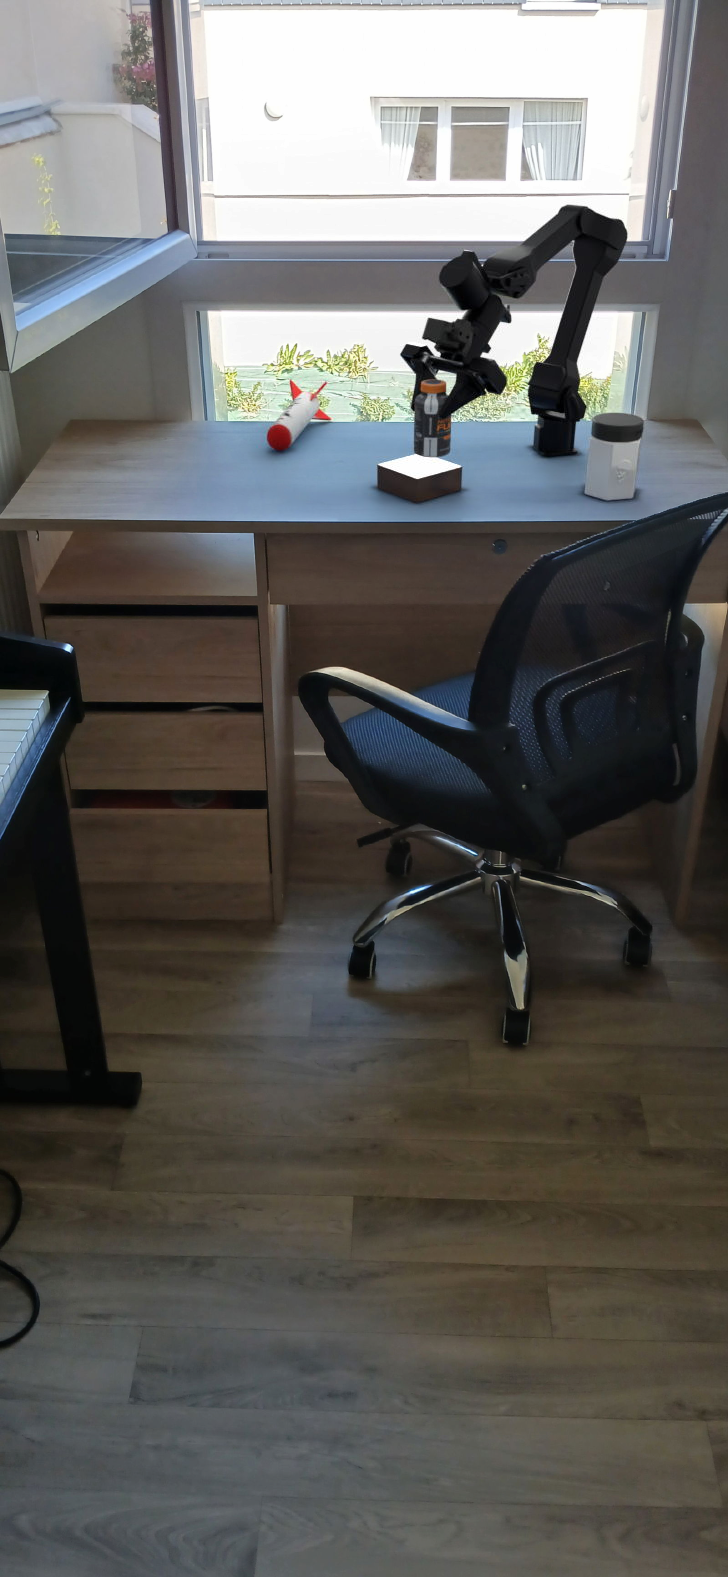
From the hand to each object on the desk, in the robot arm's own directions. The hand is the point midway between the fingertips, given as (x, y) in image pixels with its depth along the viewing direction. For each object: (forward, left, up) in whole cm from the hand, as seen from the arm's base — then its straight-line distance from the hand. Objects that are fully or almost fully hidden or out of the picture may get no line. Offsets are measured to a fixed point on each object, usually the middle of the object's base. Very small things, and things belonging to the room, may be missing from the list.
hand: (426, 413), depth 183 cm
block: (0, -3, -13) cm, 14 cm away
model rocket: (+14, -39, -13) cm, 43 cm away
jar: (-30, +7, -13) cm, 34 cm away
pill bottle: (-1, -1, -7) cm, 7 cm away
